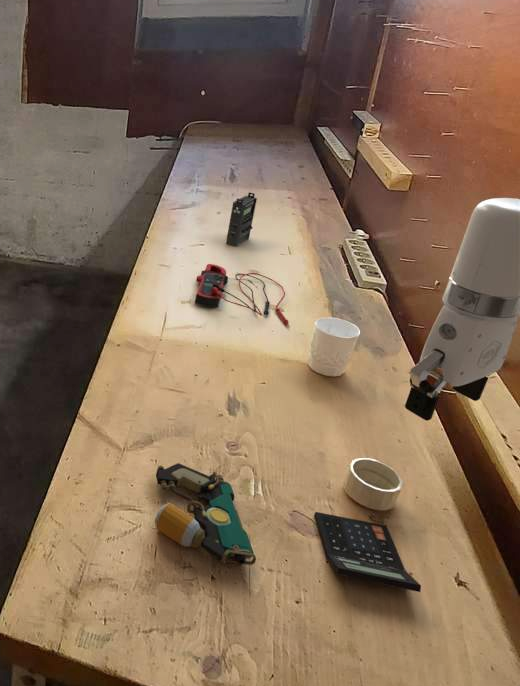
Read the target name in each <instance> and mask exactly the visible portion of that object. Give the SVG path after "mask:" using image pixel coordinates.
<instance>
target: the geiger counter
mask: <svg viewBox="0 0 520 686" xmlns="http://www.w3.org/2000/svg"><path fill="white" fill-rule="evenodd" d="M255 195H256V193H254V192H249V191H248V193H247V195H244V196H242V197H240V198H239V197H238V198H236V200H235V201H233V202H232V206H231V213H230V218H229V224H228V229H227V235H226V240H225V244H226V245H228V246H229V245H230V246H233V247H238V246H239V245H240V244H242V243H243V242H245V241H246V240H249V239H250V235H251V230H252V229H253V221H254V215H255V210H256V205H257V201H258V198H257V197H255Z"/></svg>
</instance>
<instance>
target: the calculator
mask: <svg viewBox="0 0 520 686" xmlns="http://www.w3.org/2000/svg"><path fill="white" fill-rule="evenodd" d="M313 517H314V520H315V523H316V528H317V530H318V531H317V532H318V534H319V538H320V542H321V545H322V549H323V553H324V556H325V559H326V560H327V562H328V563H329V564H330V566H331V567H332V568H333V570H334V571H335V572H336V574H337V575H339V576H344V577H349V578H351V579H357V580H361V581H367V582H371V583H376V584H380V585H385V586H389V587H395V588H400V589H404V590H409V591H412V592H416V593H417V592H418V593H421V587H422V585H421V584H420V583H419V582H418V581H417V580H416V579H415V578H414V577H413V576H412V575H411V574H410V573H408V572H407V570H406V569H405V566H404V564H403V562H402V559H401V557H400V554H399V552H398V550H397V547H396V544H395V542H394V540H393V538H392V535H391V532H390V530H389V528H388V526H387V525H386V524H381V523H376V522H371V521H366V520H365V521H364V520H360V519H356V518H351V517H350V518H349V517H344V516H341V515H340V516H339V515H334V514H329V513H325V512H318V511H315V512H314V514H313Z"/></svg>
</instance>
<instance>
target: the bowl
mask: <svg viewBox="0 0 520 686" xmlns="http://www.w3.org/2000/svg"><path fill="white" fill-rule="evenodd" d="M403 486H404V482H403V478H402V477H401V475H400V474H399V473H398V472H397V471H396V469H394V468H392V467H391V466H390V465H389V464H386V463H385V462H383V461H380V460H378V459H374V458H370V457H358V458H355V459H353V460H352V461H351V462H350V464H349V467H348V469H347V472H346V474H345V478H344V481H343V487H344V491H345V493H346V494H347V495H348V497H350V498H351V500H353V501H355V502H356V503H358V504H359V505H362V506H364V507H365V508H368V509H371V510H375V511H388V510H390V509H392V508H394V506H395V505H396V503H397V500H398V497H399V495H400V493H401V492H402V491H401V490H402V488H403Z"/></svg>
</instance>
